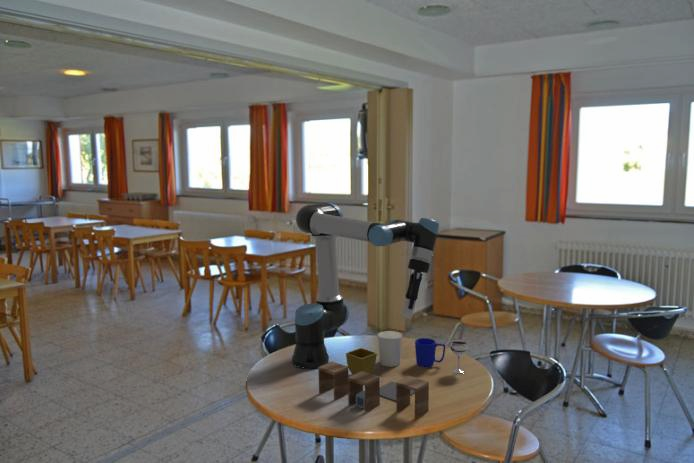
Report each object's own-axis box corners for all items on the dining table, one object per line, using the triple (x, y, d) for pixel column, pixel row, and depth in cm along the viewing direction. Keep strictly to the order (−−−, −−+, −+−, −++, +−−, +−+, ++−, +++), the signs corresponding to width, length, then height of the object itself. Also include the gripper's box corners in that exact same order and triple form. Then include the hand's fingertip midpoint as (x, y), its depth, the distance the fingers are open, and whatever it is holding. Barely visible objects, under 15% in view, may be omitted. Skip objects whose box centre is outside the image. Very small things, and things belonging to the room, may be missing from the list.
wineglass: (471, 373, 208) (471, 343, 206) (455, 375, 206) (456, 345, 204) (461, 367, 214) (462, 338, 213) (446, 369, 212) (447, 340, 210)
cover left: (318, 393, 192) (318, 367, 190) (332, 387, 197) (331, 361, 196) (335, 400, 186) (334, 372, 185) (348, 393, 192) (348, 366, 190)
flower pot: (361, 369, 214) (361, 347, 213) (377, 375, 208) (377, 352, 206) (345, 375, 208) (345, 353, 207) (361, 381, 202) (361, 358, 200)
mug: (444, 370, 211) (445, 345, 210) (414, 368, 214) (414, 344, 212) (445, 362, 219) (445, 339, 218) (415, 360, 222) (415, 337, 220)
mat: (371, 392, 192) (371, 391, 192) (391, 382, 201) (391, 381, 201) (398, 402, 184) (398, 401, 184) (418, 391, 193) (418, 390, 193)
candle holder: (407, 364, 218) (407, 335, 217) (388, 369, 213) (388, 340, 211) (391, 356, 226) (391, 329, 225) (373, 362, 221) (373, 333, 219)
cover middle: (348, 405, 183) (348, 377, 181) (361, 398, 188) (361, 370, 186) (366, 412, 177) (366, 383, 176) (379, 404, 182) (379, 376, 181)
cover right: (396, 411, 178) (396, 382, 177) (408, 403, 183) (408, 375, 182) (416, 418, 173) (416, 388, 171) (428, 410, 178) (428, 381, 176)
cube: (355, 405, 182) (355, 394, 182) (363, 401, 185) (363, 390, 185) (364, 409, 180) (364, 398, 179) (372, 405, 183) (372, 393, 182)
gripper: (434, 261, 184) (419, 322, 182) (426, 264, 209) (413, 317, 207) (413, 256, 184) (398, 316, 182) (407, 259, 209) (394, 312, 207)
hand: (406, 317), depth 195 cm, fingers open, 13 cm apart
